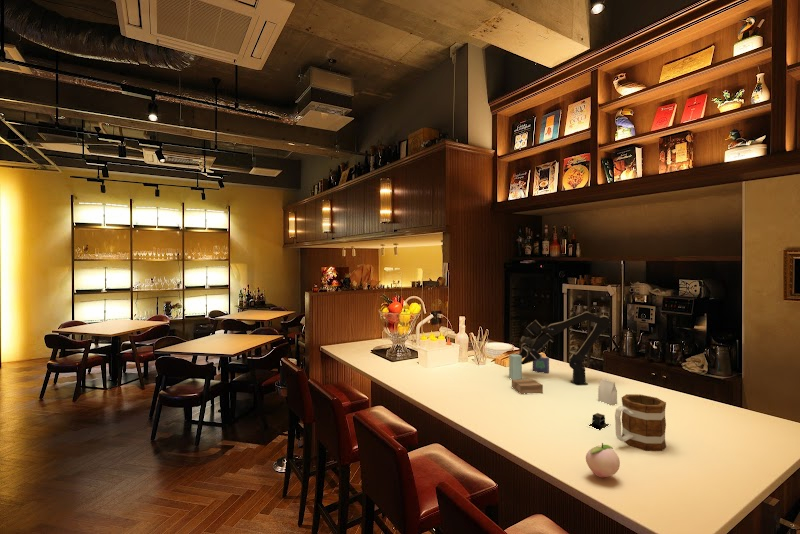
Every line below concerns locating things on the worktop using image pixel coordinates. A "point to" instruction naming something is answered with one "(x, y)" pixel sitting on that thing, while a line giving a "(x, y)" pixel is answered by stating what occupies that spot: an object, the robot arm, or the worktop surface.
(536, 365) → the flask
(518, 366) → the tall block
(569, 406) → the worktop surface
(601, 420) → the black flanged block
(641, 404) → the mug
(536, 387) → the base brick
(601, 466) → the decorative fruit
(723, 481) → the worktop surface
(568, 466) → the worktop surface
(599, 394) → the paper bag
